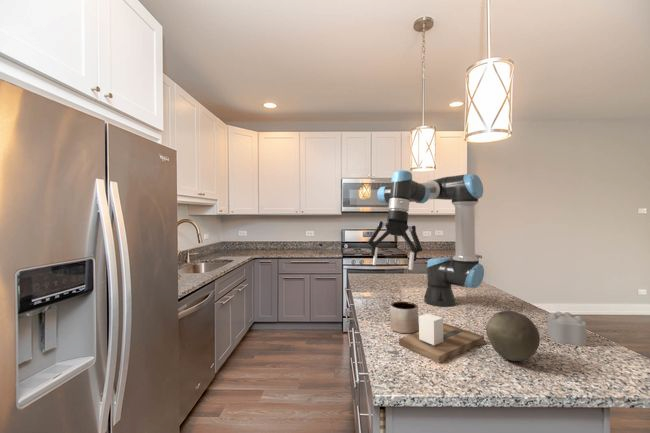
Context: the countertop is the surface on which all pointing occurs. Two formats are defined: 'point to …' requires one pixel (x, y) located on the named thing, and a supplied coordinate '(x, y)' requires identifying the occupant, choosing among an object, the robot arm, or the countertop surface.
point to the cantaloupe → (513, 335)
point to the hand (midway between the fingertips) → (392, 267)
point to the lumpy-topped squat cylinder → (567, 329)
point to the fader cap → (431, 329)
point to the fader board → (443, 343)
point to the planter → (404, 317)
